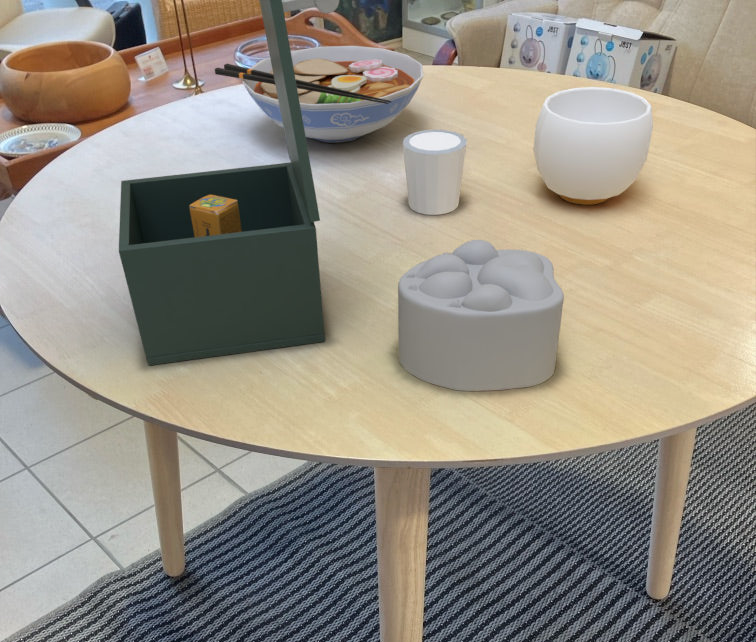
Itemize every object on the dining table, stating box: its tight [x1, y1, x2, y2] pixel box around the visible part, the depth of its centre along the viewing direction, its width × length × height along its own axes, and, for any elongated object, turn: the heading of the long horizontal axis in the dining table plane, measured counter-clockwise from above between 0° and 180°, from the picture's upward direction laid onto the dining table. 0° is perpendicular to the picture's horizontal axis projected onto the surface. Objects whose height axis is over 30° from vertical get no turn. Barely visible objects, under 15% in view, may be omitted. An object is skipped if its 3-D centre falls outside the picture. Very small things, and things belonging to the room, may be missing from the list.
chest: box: [118, 161, 326, 366], centre depth 76 cm, size 16×14×11 cm
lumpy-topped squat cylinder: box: [397, 239, 565, 392], centre depth 71 cm, size 10×13×9 cm
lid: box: [258, 0, 340, 223], centre depth 68 cm, size 16×14×5 cm
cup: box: [532, 86, 654, 206], centre depth 93 cm, size 12×12×10 cm
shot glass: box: [402, 129, 468, 216], centre depth 93 cm, size 7×7×7 cm
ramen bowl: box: [214, 45, 424, 144], centre depth 109 cm, size 25×23×8 cm
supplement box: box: [190, 195, 242, 237], centre depth 76 cm, size 3×3×10 cm
